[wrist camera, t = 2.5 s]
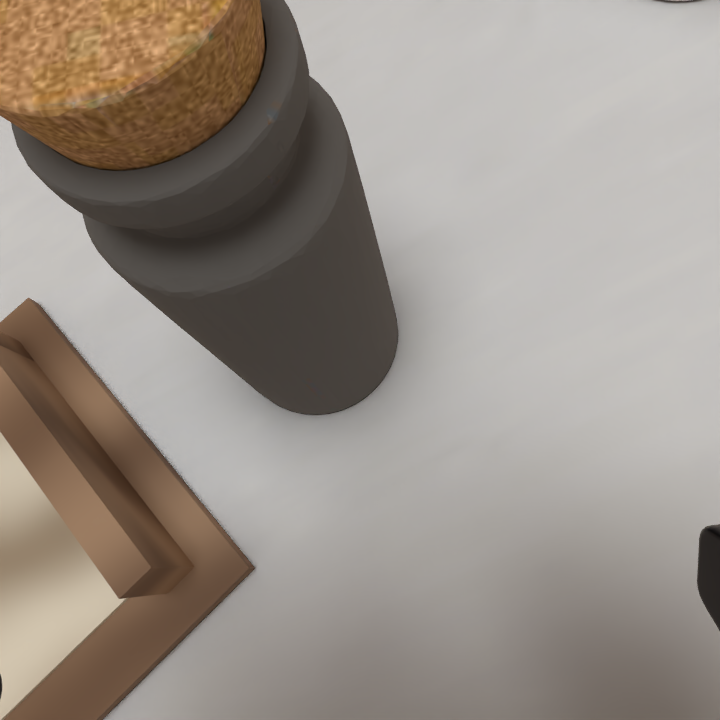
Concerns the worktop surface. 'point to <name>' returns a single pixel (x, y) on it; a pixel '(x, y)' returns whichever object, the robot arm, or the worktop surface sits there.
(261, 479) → the worktop surface
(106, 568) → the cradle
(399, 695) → the worktop surface
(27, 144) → the bottle
